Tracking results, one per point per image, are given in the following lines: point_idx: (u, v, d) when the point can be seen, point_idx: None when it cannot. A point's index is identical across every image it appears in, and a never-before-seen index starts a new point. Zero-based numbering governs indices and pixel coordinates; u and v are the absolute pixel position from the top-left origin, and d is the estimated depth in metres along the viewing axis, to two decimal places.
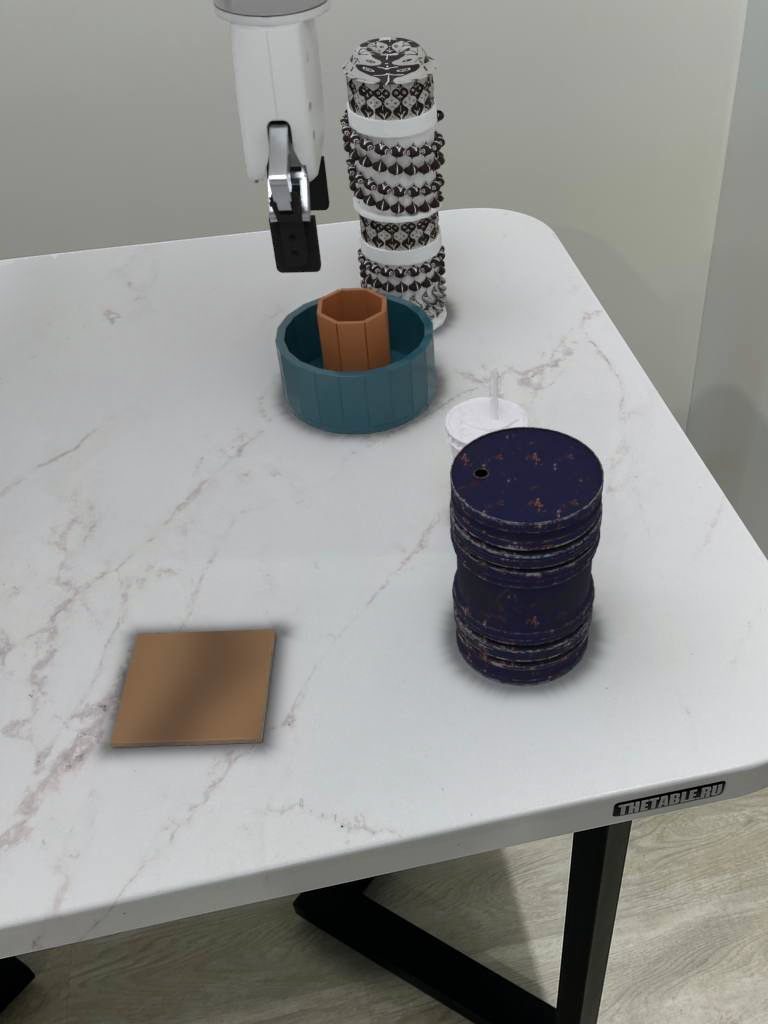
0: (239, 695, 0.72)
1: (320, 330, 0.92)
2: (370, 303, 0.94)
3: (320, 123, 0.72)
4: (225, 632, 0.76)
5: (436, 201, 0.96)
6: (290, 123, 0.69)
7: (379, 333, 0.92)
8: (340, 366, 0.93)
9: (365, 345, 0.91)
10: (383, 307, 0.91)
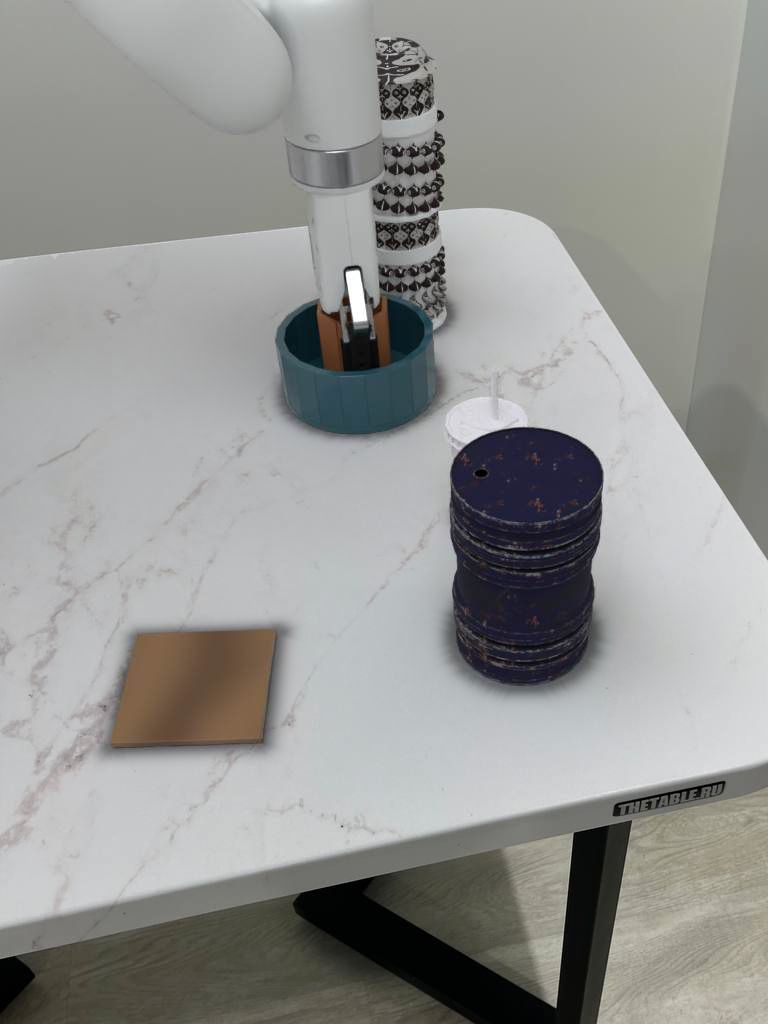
0: (239, 695, 0.72)
1: (320, 330, 0.92)
2: None
3: None
4: (225, 632, 0.76)
5: (436, 201, 0.96)
6: (362, 266, 0.84)
7: (379, 333, 0.92)
8: (340, 366, 0.93)
9: None
10: (383, 307, 0.91)
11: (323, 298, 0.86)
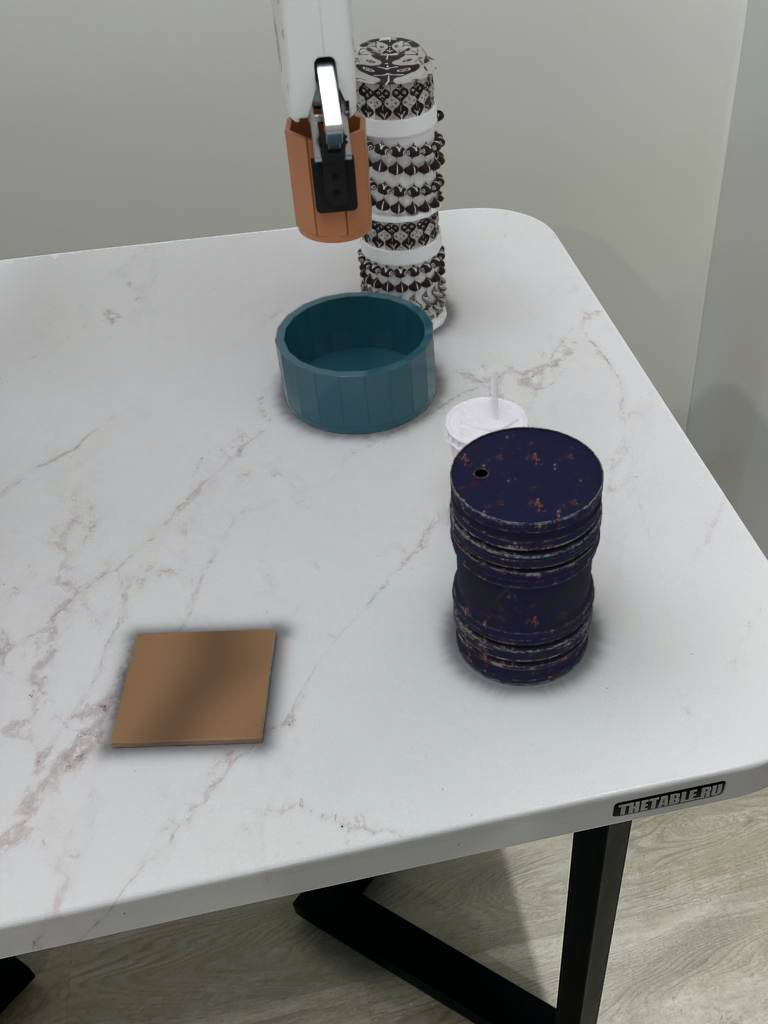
0: (239, 695, 0.72)
1: (289, 152, 0.80)
2: None
3: None
4: (225, 632, 0.76)
5: (436, 201, 0.96)
6: (336, 59, 0.72)
7: (357, 156, 0.80)
8: (312, 196, 0.81)
9: None
10: (361, 126, 0.79)
11: (290, 100, 0.73)
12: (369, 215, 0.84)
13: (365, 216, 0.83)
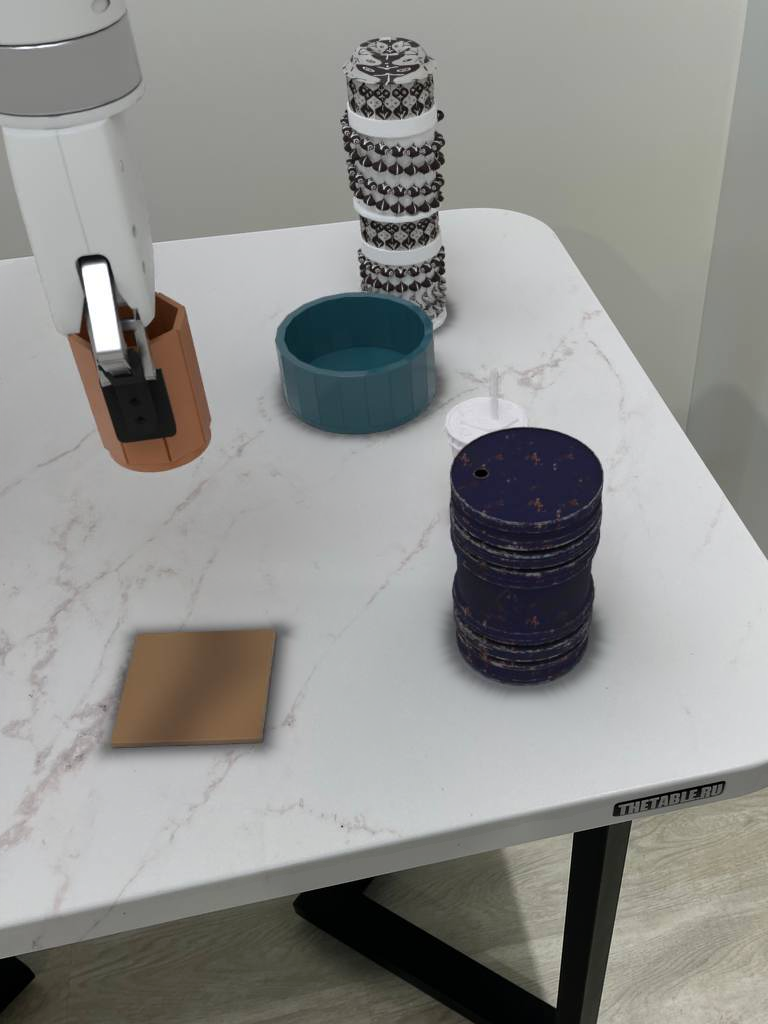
0: (239, 695, 0.72)
1: (76, 361, 0.57)
2: (164, 316, 0.59)
3: (149, 246, 0.52)
4: (225, 632, 0.76)
5: (436, 201, 0.96)
6: (108, 257, 0.49)
7: (171, 365, 0.57)
8: None
9: None
10: (176, 323, 0.56)
11: (50, 311, 0.50)
12: (202, 432, 0.61)
13: (195, 435, 0.60)
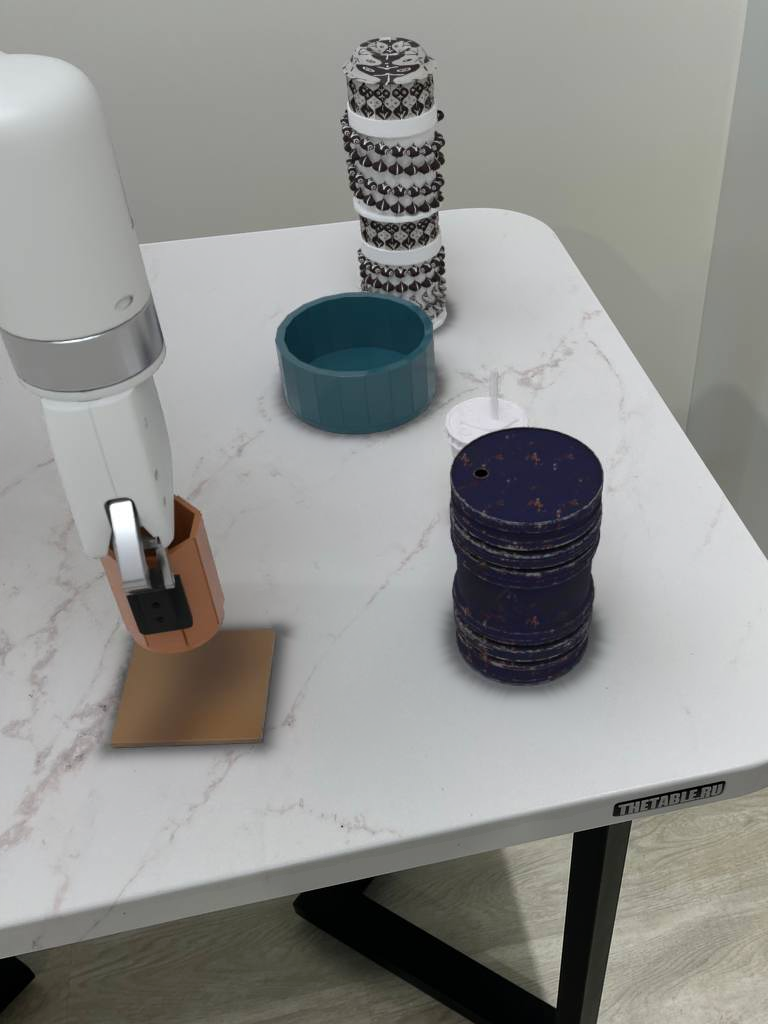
0: (239, 695, 0.72)
1: (102, 563, 0.63)
2: (182, 515, 0.65)
3: (169, 474, 0.58)
4: (225, 632, 0.76)
5: (436, 201, 0.96)
6: (133, 499, 0.55)
7: (189, 567, 0.62)
8: None
9: None
10: (193, 531, 0.62)
11: (81, 540, 0.56)
12: (216, 617, 0.66)
13: (210, 620, 0.66)
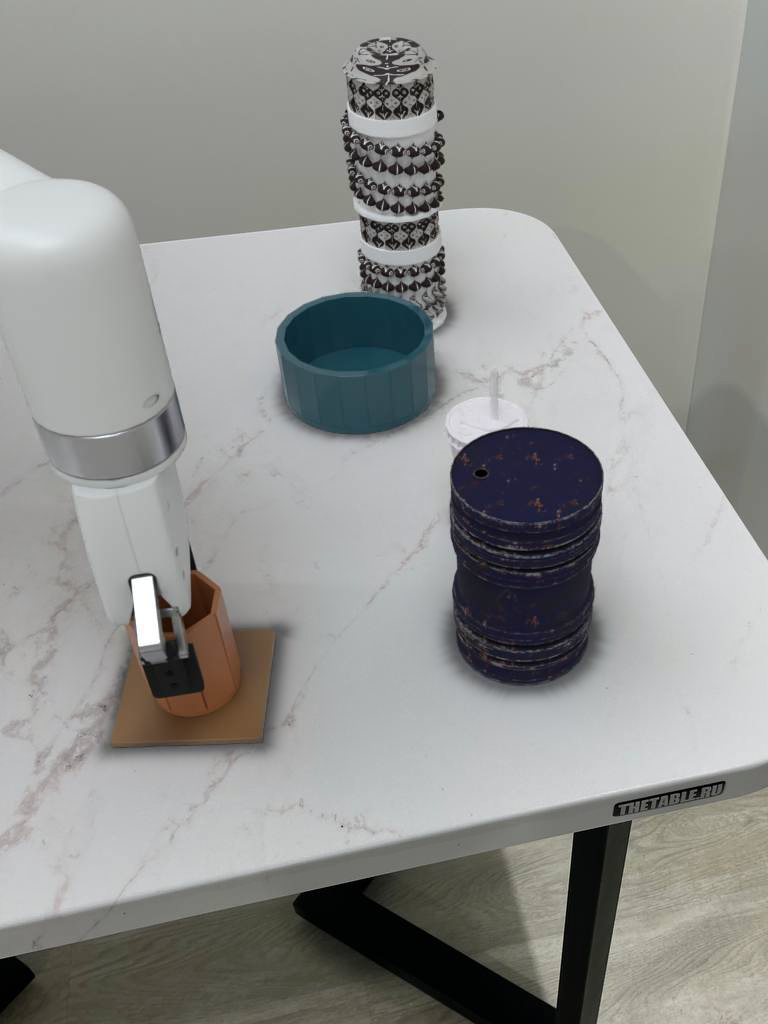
0: (239, 695, 0.72)
1: (129, 636, 0.67)
2: (202, 589, 0.69)
3: (187, 546, 0.62)
4: None
5: (436, 201, 0.96)
6: (155, 574, 0.59)
7: (209, 640, 0.67)
8: None
9: None
10: (214, 606, 0.67)
11: (105, 610, 0.60)
12: (233, 682, 0.71)
13: (228, 686, 0.71)
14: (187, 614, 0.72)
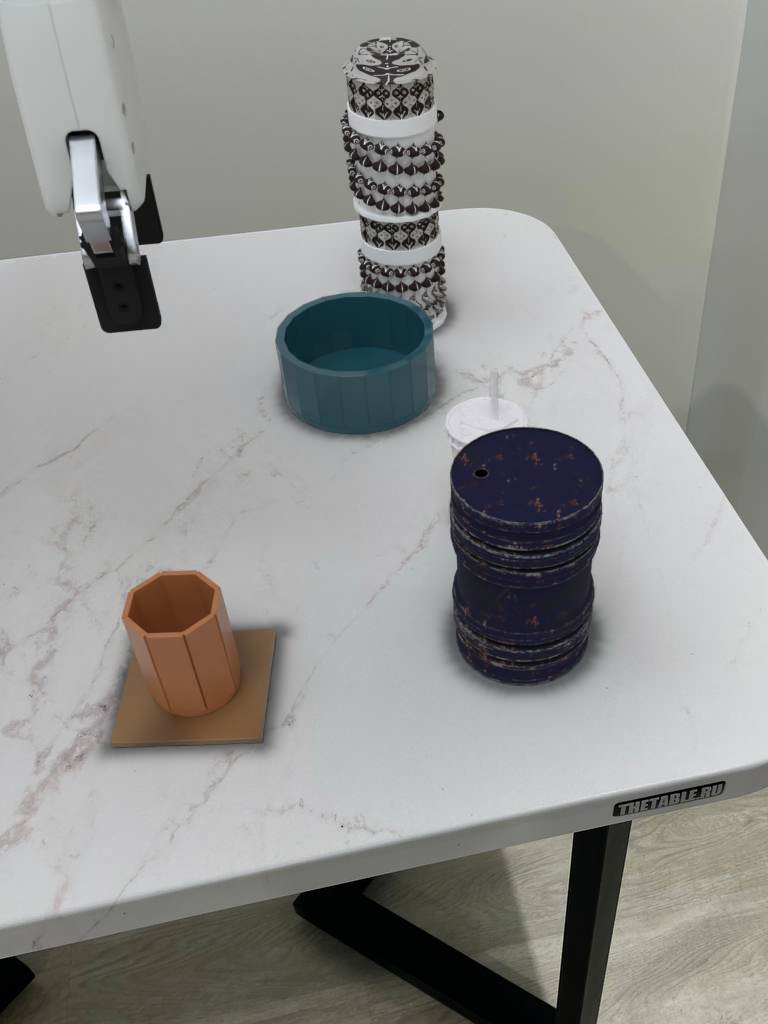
0: (239, 695, 0.72)
1: (129, 636, 0.67)
2: (202, 589, 0.69)
3: (140, 131, 0.53)
4: None
5: (436, 201, 0.96)
6: (98, 133, 0.50)
7: (209, 640, 0.67)
8: (159, 681, 0.68)
9: (189, 659, 0.67)
10: (214, 606, 0.67)
11: (41, 188, 0.51)
12: (233, 682, 0.71)
13: (228, 686, 0.71)
14: (187, 614, 0.72)
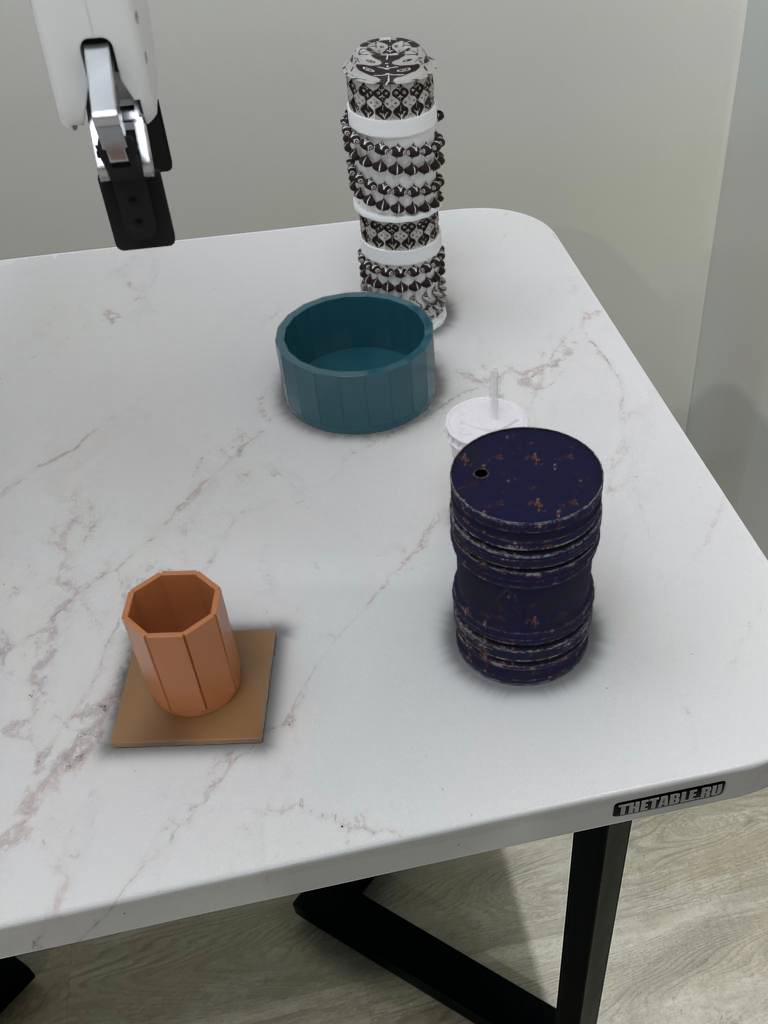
0: (239, 695, 0.72)
1: (129, 636, 0.67)
2: (202, 589, 0.69)
3: (151, 45, 0.54)
4: None
5: (436, 201, 0.96)
6: (112, 41, 0.51)
7: (209, 640, 0.67)
8: (159, 681, 0.68)
9: (189, 659, 0.67)
10: (214, 606, 0.67)
11: (56, 100, 0.52)
12: (233, 682, 0.71)
13: (228, 686, 0.71)
14: (187, 614, 0.72)
